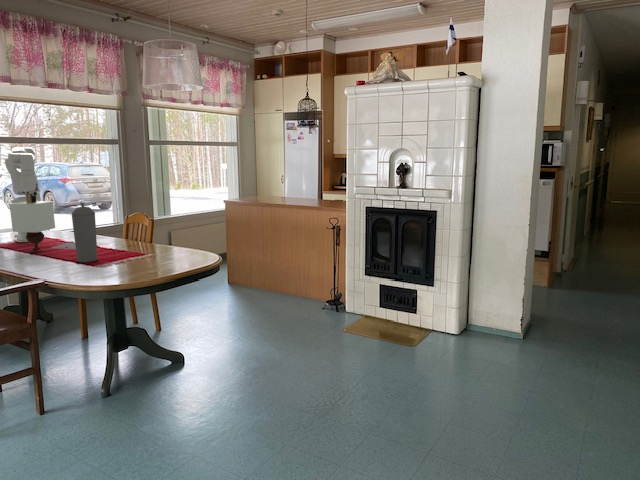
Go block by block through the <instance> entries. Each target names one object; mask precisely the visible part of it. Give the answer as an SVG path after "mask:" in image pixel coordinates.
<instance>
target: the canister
mask: <svg viewBox="0 0 640 480" xmlns="http://www.w3.org/2000/svg"><path fill="white" fill-rule="evenodd" d="M70 215H71V221H72V229H73V236H74V237H73V239H74V243H75V246H76V249H75V253H76V260H77V262H78V263H92V262H95V261H97V260H98V244H97V243H98V242H97V241H98V240H97V224H96V223H97V222H96V211H94V210H93V209H92V208H91V207H90V206H85V202H80V206H77V207H76V208H75V209H74V210H73V211H72V212H71V214H70Z"/></svg>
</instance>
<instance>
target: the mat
mask: <svg viewBox="0 0 640 480" xmlns="http://www.w3.org/2000/svg"><path fill="white" fill-rule="evenodd" d="M65 247H68V248H65ZM51 249H60V250H63V249H64V250H76V246H75V242H70V241H69V242H66V243H62V244H58V245H55V246H52V247H51Z"/></svg>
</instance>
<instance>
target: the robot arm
mask: <svg viewBox="0 0 640 480" xmlns="http://www.w3.org/2000/svg"><path fill="white" fill-rule="evenodd" d="M36 154H37V153H36V151H35V149H34V148H33V147H29V146H27V147H26V146H22V147H21V146H20V147H19V146H18V147H17V146H16V147H13V148H12V149H11V150H10V151H9V152H8V153H7V157H6V158H5V160H4V166H5V168H6V170H7V171H8V174H9V175H10V179H11V186H12V190H13V194H14V195H15V196H16V197H15V198H13V200H12V203H19V202H25V201H26V194H27V193H32V196H31V198H32V202H36V201H42V197H41V190H40V187H39V181H38V177H37V175H36V170H35V164H36ZM17 196H18V197H17ZM26 236H27V232H17V234H15V235H14V236H13V238H14V239H16V240H15V241H16V243H17V242H18V243H28V242H29V241H28V240H27V239H26ZM29 243H30V242H29Z"/></svg>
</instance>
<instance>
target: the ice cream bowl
mask: <svg viewBox="0 0 640 480" xmlns="http://www.w3.org/2000/svg"><path fill="white" fill-rule="evenodd" d="M26 239H27V240H28V241H29V243H30V244H34V247H33V248H32V249H31V250H32V251H39V250H42V248H41V247H39V245H38V244H40V243H42V242H43V241H44V240H45V234H44V232H43V231H41V232H27V236H26Z"/></svg>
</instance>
